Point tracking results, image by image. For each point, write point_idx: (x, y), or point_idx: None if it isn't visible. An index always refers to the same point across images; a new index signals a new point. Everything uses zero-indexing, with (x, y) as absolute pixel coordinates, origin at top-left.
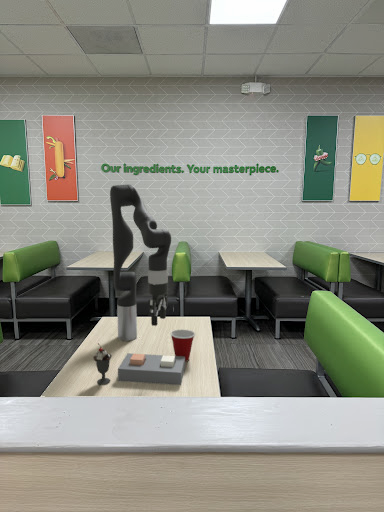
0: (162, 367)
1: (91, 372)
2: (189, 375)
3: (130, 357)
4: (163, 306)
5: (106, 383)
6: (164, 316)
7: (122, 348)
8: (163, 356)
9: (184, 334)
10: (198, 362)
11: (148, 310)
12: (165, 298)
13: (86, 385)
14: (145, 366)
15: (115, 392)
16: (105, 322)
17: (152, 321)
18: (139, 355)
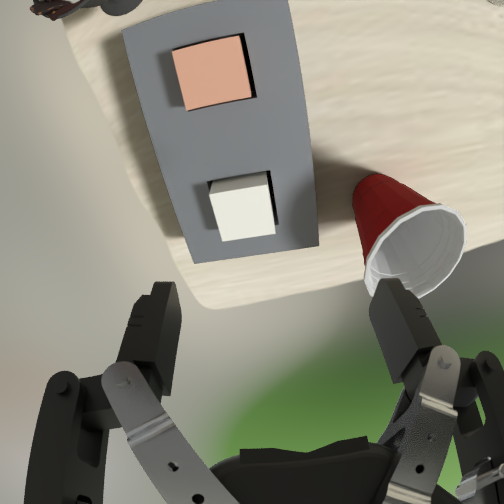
0: (202, 195)
1: None
2: None
3: (244, 20)
4: (390, 422)
5: (110, 13)
6: (375, 326)
7: None
8: (257, 190)
9: (446, 240)
10: (355, 248)
11: (37, 429)
12: (467, 466)
13: None
14: (183, 126)
15: (82, 71)
16: None
17: (132, 326)
18: (229, 74)
